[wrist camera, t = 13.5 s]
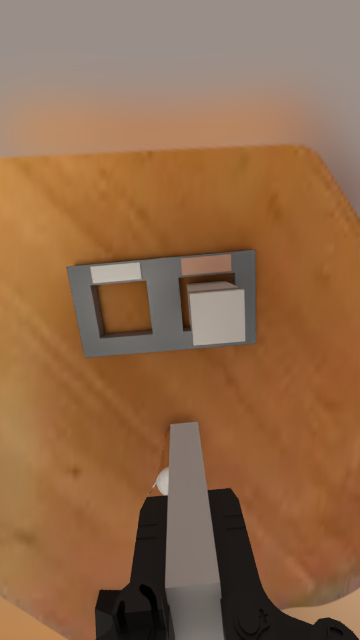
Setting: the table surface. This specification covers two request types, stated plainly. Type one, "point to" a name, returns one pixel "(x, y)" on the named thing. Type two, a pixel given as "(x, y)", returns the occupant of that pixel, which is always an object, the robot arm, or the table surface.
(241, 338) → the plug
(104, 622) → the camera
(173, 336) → the socket block
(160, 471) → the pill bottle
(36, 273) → the table surface
